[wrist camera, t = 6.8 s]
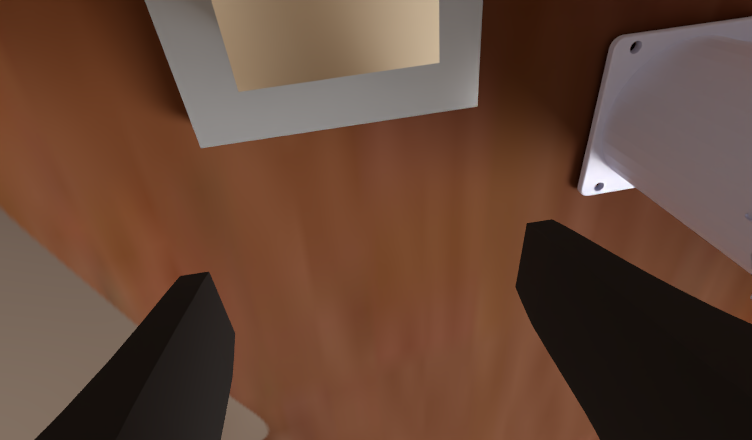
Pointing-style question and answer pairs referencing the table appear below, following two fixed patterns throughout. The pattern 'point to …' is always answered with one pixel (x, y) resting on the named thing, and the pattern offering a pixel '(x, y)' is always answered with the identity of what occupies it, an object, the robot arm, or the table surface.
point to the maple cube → (324, 38)
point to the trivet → (316, 98)
